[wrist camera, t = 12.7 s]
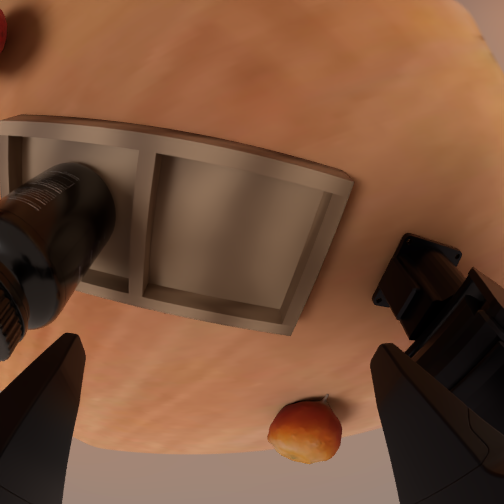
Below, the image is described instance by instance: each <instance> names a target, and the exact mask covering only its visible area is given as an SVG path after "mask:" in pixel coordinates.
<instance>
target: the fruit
mask: <svg viewBox="0 0 504 504" xmlns="http://www.w3.org/2000/svg"><path fill="white" fill-rule="evenodd" d="M327 397H328V394H326V396H325V397H324V398H323V400H321V401H314V402H310V401H308V402H306V401H304V402H298V403H295V404H291V405H286V406H285V407H284V408H283V409H282V410H281V411H280V412H279V413H278V414H277V416H276V417H275V419H274V421H273V422H272V424H271V425H270V428H269V434H268V441H269V442H270V443H271V444H272V445H273V446H274V448H275V450H276V451H277V452H278V453H279V454H281V455H282V456H284V457H286V458H288V459H290V460H293V461H297V462H302V463H306V464H312V463H315V462H319V461H327V460H328V459H330V458H332V456H334V455H335V453H336V452H337V450H338V449H339V446H340V443H341V435H342V426H341V423H340V421H339V420H338V418H337V417H336V416H335V414H334V413H333V411H332V409H331V408H330V406H329V405H328V403H327V401H326V399H327Z"/></svg>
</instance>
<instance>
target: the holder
mask: <svg viewBox="0 0 504 504" xmlns="http://www.w3.org/2000/svg"><path fill="white" fill-rule="evenodd" d="M61 163H78V164H81V165H84V166H86V167H88V168H90V169H91V170H93V171H94V172H96V173H97V174H98V175H99V176H100V177H101V178H102V179H103V181H104V182H105V183H106V185H107V186H108V188H109V190H110V192H111V194H112V197H113V200H114V204H115V209H116V222H115V227H114V231H113V233H112V235H111V237H110V239H109V241H108V242H107V244H106V245H105V247H104V248H103V250H102V251H101V252H100V254H99V255H98V257H97V258H96V259H95V261H94V262H93V264H92V265H91V267H90V268H89V270H88V271H87V272H86V274H85V275H84V277H83V278H82V280H81V281H80V283H79V284H78V286H77V287H76V289H75V290H76V291H79V292H83V293H87V294H90V295H94V296H98V297H101V298H105V299H109V300H113V301H117V302H121V303H125V304H129V305H133V306H137V307H141V308H145V309H150V310H154V311H158V312H163V313H167V314H172V315H176V316H181V317H186V318H191V319H196V320H201V321H206V322H211V323H216V324H221V325H227V326H232V327H238V328H243V329H249V330H255V331H261V332H267V333H274V334H280V335H287V336H291V334H292V332H293V330H294V328H295V326H296V324H297V321H298V319H299V317H300V315H301V313H302V310H303V308H304V306H305V304H306V301H307V299H308V297H309V294H310V292H311V290H312V288H313V285H314V283H315V281H316V278H317V276H318V274H319V271H320V269H321V266H322V264H323V262H324V259H325V257H326V254H327V252H328V249H329V247H330V244H331V242H332V239H333V237H334V234H335V232H336V229H337V227H338V224H339V222H340V219H341V217H342V214H343V211H344V209H345V206H346V203H347V201H348V198H349V195H350V193H351V190H352V187H353V184H354V181H353V180H352V179H351V178H350V177H349V176H347V175H346V174H345V173H344V172H343V171H342V170H339V169H336V168H333V167H329V166H326V165H323V164H319V163H316V162H312V161H309V160H305V159H302V158H298V157H294V156H291V155H287V154H283V153H279V152H276V151H272V150H268V149H264V148H259V147H255V146H251V145H247V144H242V143H238V142H233V141H229V140H224V139H220V138H215V137H210V136H205V135H200V134H194V133H189V132H183V131H178V130H172V129H166V128H159V127H153V126H146V125H139V124H132V123H124V122H116V121H107V120H98V119H88V118H76V117H63V116H46V115H18V116H14V117H10V118H7V119H4V120H0V193H1V199H2V198H3V197H5V196H6V195H8V194H9V193H11V192H12V191H13V190H15V189H16V188H18V187H20V186H21V185H23V184H24V183H26V182H27V181H29V180H30V179H32V178H34V177H35V176H37V175H39V174H40V173H42V172H44V171H45V170H47V169H49V168H51V167H53V166H55V165H57V164H61Z"/></svg>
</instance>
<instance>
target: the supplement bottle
mask: <svg viewBox="0 0 504 504" xmlns="http://www.w3.org/2000/svg"><path fill="white" fill-rule="evenodd" d="M115 222H116V209H115V204H114V200H113V197H112V194H111V192H110V190H109V188H108V186H107V185H106V183H105V182H104V181H103V179H102V178H101V177H100V176H99V175H98V174H97V173H96V172H94V171H93V170H91V169H90V168H88V167H86V166H84V165H81V164H78V163H61V164H57V165H55V166H53V167H51V168H49V169H47V170H45V171H44V172H42V173H40V174H39V175H37V176H35V177H34V178H32V179H30V180H29V181H27V182H26V183H24V184H23V185H21V186H20V187H18V188H16V189H15V190H13V191H12V192H11V193H9V194H8V195H6V196H5V197H3V198H2V199H0V361H5V360H7V359H8V358H9V357H10V356H11V354H12V352H13V351H14V349H15V347H16V346H17V344H18V342H20V341H21V340H22V339H23V337H24V335H25V334H26V332H27V330H35V329H39V328H43V327H45V326H47V325H49V324H50V323H52V322H53V321H54V320H55V319H56V318H57V317H58V315H59V314H60V312H61V311H62V309H63V308H64V306H65V305H66V303H67V301H68V300H69V298H70V297H71V295H72V294H73V292H74V291H75V289H76V287H77V286H78V284H79V283H80V281H81V280H82V278H83V277H84V275H85V274H86V272H87V271H88V270H89V268H90V267H91V265H92V264H93V262H94V261H95V259H96V258H97V257H98V255H99V254H100V252H101V251H102V250H103V248H104V247H105V245H106V244H107V242H108V241H109V239H110V237H111V235H112V233H113V231H114V227H115Z"/></svg>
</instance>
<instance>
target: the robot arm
mask: <svg viewBox="0 0 504 504" xmlns="http://www.w3.org/2000/svg"><path fill="white" fill-rule="evenodd" d="M408 239H410V240H409V242H407V240H408ZM461 257H462V253H461V251H460V250H458V249H456V248H453V247H450V246H447V245H444V244H441V243H438V242H435V241H432V240H429V239H426V238H423V237H420V236H417V235H414V234H410V233H407V234H405V235H404V236H403V237H402V239H401V241H400V243H399V245H398V248H397V250H396V252H395V254H394V256H393V258H392V259H391V261H390V263H389V265H388V267H387V269H386V271H385V273H384V275H383V277H382V279H381V281H380V282H379V285H378V287H377V289H376V291H375V293H374V295H373V297H372V301H373V303H374V304H375V305H378V306H384V307H390V308H391V310H392V312H393V313H394V315H395V317H396V319H397V320H400V322H401V324H402V326H403V328H404V330H405V332H406V334H407V336H408V338H409V340H415V342H414V343H413V344H412V345H411V346H410V347H409V348H408V349H407V350H406V351H405V352H403V351H402V350H400V349H399V348H398V347H397V346H396V345H394V344H393V343H385V344H381V345H380V346H379V347H378V349H377V351H376V352H375V354H374V356H373V358H372V359H371V363H370V368H371V374H372V380H373V385H374V391H375V397H376V403H377V408H378V412H379V416H380V420H381V424H382V427H383V431H384V435H385V439H386V443H387V447H388V451H389V455H390V459H391V464H392V468H393V473H394V477H395V482H396V487H397V491H398V496H399V501H400V504H504V289H503V288H502V287H501V286H499V285H498V284H497V283H495V282H494V281H492V280H491V279H490V278H488V277H487V276H485V275H484V274H483V273H481V272H480V271H478V270H477V269H475V268H474V267H472V269H471V270H470V271H469V273H468V274H469V275H468V277H467V278H465V277H464V276H463V274H462V273H461V272H460V271H459V270H458V269H457V268H456V266H457V264H458V263H459V261H460V259H461ZM378 298H380V299H378ZM377 299H378V300H377ZM85 360H86V355H85V351H84V348H83V345H82V343H81V340H80V337H79V336H78V335H77V334H73V333H65V334H63V335H62V336H61V337H60V338H59V339H57V340H56V341H55V342H54V343H53V344H52V345H51V346H50V347H49V348H47V349H46V350H45V351H44V352H43V353H42V354H41V355H40V356H39V357H38V358H37V359H35V360H34V361H33V362H32V363H31V364H30V365H29V366H28V367H27V368H26V369H25V370H24V371H23V372H22V373H21V374H19V375H18V376H17V377H16V378H15V379H14V380H13V381H12V382H11V383H10V384H9V385H8V386H7V387H6V388H5V389H4V390H3V391H2V392H1V393H0V504H62V498H63V490H64V482H65V476H66V469H67V462H68V457H69V451H70V446H71V440H72V436H73V431H74V426H75V421H76V417H77V412H78V408H79V402H80V395H81V387H82V380H83V373H84V366H85Z"/></svg>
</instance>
